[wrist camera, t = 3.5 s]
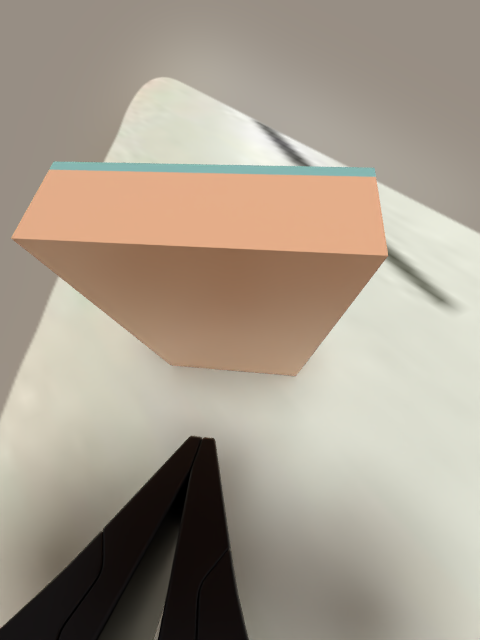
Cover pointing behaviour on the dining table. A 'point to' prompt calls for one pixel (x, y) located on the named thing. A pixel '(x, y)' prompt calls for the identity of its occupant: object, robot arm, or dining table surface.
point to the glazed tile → (212, 254)
